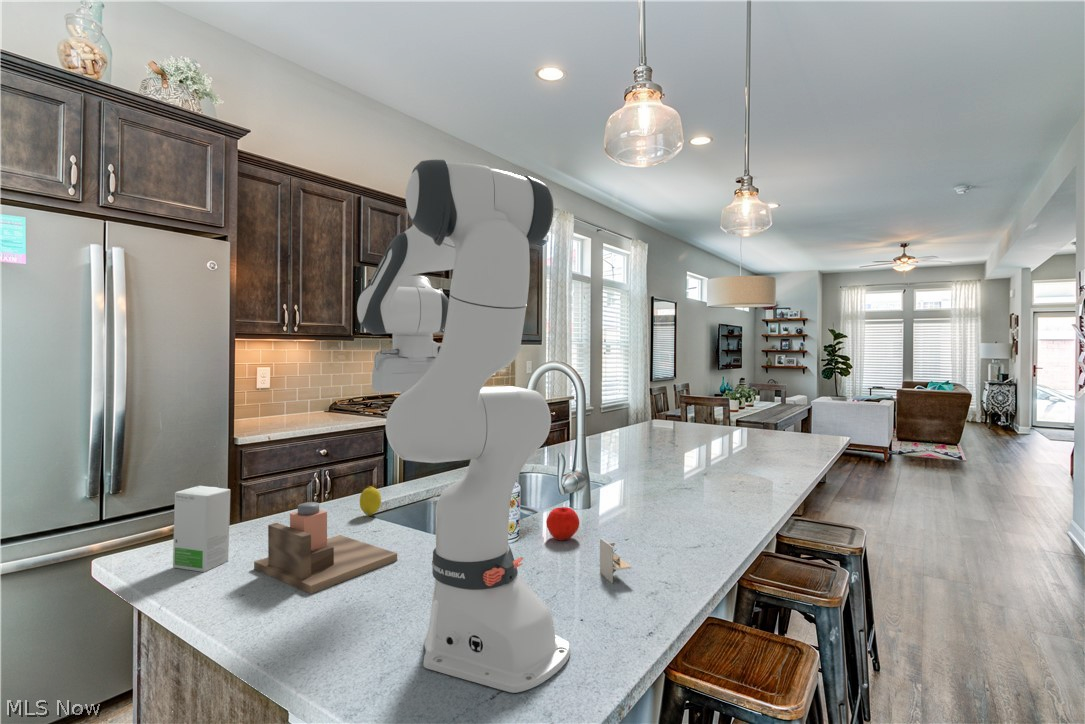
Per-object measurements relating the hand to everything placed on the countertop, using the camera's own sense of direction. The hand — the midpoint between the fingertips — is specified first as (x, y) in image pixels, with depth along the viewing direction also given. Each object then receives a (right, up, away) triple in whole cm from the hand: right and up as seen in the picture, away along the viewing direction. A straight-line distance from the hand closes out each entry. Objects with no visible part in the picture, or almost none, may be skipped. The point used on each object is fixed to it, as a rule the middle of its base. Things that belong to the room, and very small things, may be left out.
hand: (412, 410), depth 124 cm
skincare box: (-41, -31, -10) cm, 53 cm away
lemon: (-17, -31, +25) cm, 43 cm away
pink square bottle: (-18, -29, -13) cm, 37 cm away
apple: (+34, -31, +7) cm, 47 cm away
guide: (-16, -31, -9) cm, 36 cm away
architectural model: (+43, -32, -15) cm, 55 cm away
